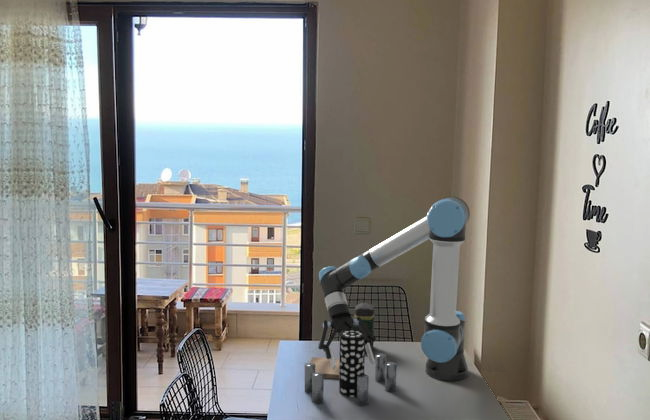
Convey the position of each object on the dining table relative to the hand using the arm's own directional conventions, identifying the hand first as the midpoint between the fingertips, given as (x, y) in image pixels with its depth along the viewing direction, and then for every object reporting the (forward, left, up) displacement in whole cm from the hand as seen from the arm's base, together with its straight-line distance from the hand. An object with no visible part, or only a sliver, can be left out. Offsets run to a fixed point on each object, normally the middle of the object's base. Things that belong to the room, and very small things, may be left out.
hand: (353, 365), depth 178 cm
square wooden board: (+12, -18, -10) cm, 23 cm away
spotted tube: (+1, -2, -10) cm, 10 cm away
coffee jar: (+1, -41, -10) cm, 42 cm away
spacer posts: (+1, -2, -10) cm, 10 cm away
